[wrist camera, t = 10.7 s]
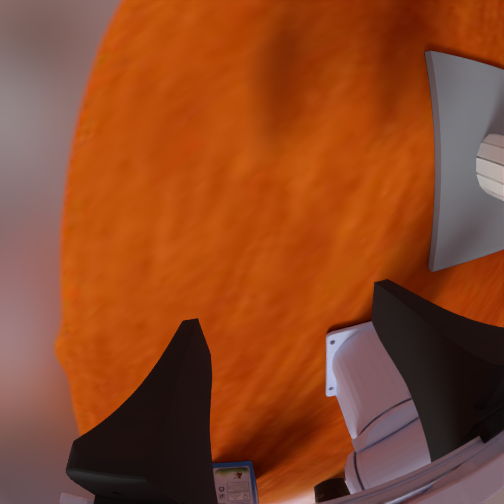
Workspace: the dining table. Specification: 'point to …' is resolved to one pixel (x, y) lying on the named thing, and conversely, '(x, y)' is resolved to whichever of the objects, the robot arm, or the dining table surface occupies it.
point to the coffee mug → (330, 490)
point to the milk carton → (235, 483)
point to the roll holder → (463, 158)
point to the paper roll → (491, 165)
